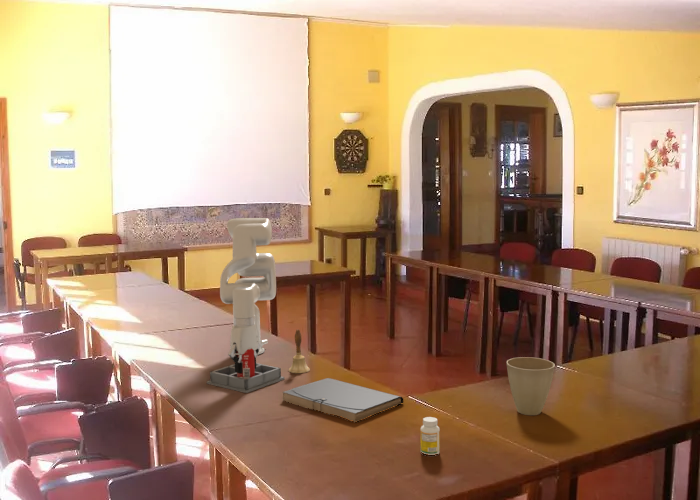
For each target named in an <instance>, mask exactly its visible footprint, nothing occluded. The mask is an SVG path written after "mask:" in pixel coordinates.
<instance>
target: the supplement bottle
mask: <svg viewBox="0 0 700 500" xmlns="http://www.w3.org/2000/svg"><path fill="white" fill-rule="evenodd" d="M440 431H441V429H440V426H438V418H436V417H432V416H426V417H423V418H422V425H421V426H420V438H419V441H420V444H419V445H420V453H421V452H422V453H424V454H428V455H435V454H438V455H439V454H440V450H441V444H440V443H441V442H440V441H441V436H440V435H441V432H440ZM422 453H421V454H422ZM435 456H436V455H435Z"/></svg>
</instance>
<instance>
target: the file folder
mask: <svg viewBox="0 0 700 500" xmlns="http://www.w3.org/2000/svg"><path fill="white" fill-rule="evenodd" d="M282 398H283V402H285V401H286V402H285V403H288V402H289V404H291V403H292V405H295V406H298V405H299V407H302V408H305V409H308V408H309V410H313V409H314V410H313V411H316V410H318V411H317V412H319V411H321V412H320V413H322V412H324V413H323V414H326V413H328V414H327V415H330V414H334V415H338V416H342V417H344V418H347V419H349V420H353V421H354V422H353V423H355V422H356V421H359V420H361V419H364V418H366V417H368V416H370V415H373V414H375V413H378V412H380V411H383V410H386V409H388V408H391V407H393V406H396V405H398V404H401V403H403V404H404V398H403V397H402V396H399V395H396V394H392V393H389V392H386V391H385V392H384V391H382V390H381V391H380V390H377V389H373V388H368V387H365V386H362V385H357V384H353V383H350V382H346V381H342V380H338V379H335V378H331V377H327V378H322V379H320V380H317V381H314V382H309V383H306V384H302V385H299V386H296V387H293V388H291V389H287V390H285V391H282ZM401 405H402V404H401ZM334 415H333V416H334ZM359 422H360V421H359Z"/></svg>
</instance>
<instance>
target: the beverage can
mask: <svg viewBox="0 0 700 500" xmlns="http://www.w3.org/2000/svg"><path fill="white" fill-rule="evenodd" d="M237 353H238V352H237ZM238 357H239V355H238V356H237V358H238ZM241 362H242V370H243V372H242V373H241V374H240V373H237V377H239V378H244V379H248V378H250V377H253V376H255V363H254V350H253V349H252V348H249V349H247V351H246V352H245V353H244V354H243V355H242V359H241Z"/></svg>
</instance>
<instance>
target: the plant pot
mask: <svg viewBox="0 0 700 500" xmlns="http://www.w3.org/2000/svg"><path fill="white" fill-rule="evenodd" d="M555 366H556V365H555V363H554V362H553V361H550V360H548V359H544V358H540V357H529V356H527V357H525V356H524V357H523V356H522V357H521V356H520V357H519V356H518V357H513V358H510V359H507V360H506V369H507V376H508V384H509V387H510V391H511V395H512V399H513V402H514V405H515V407H516V408H515V409H516V410H517V412H518V413H520V414H521V415H525V416H537V415H540V414H541V413H542V410H543V409H544V407H545V405H546V404H545V403H546V402H547V399H548V397H549V396H548V395H549V392H550V389H551V387H552V381H553V377H554V372H555Z"/></svg>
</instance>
